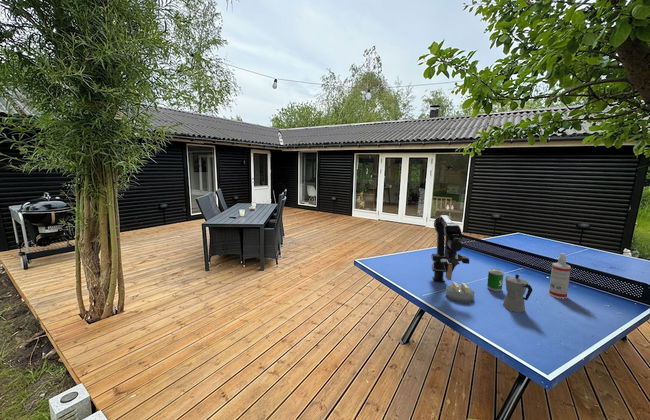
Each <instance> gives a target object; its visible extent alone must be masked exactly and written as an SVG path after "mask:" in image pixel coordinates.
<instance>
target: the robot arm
mask: <svg viewBox="0 0 650 420" xmlns="http://www.w3.org/2000/svg"><path fill="white" fill-rule="evenodd" d="M433 227H434V232H436V253H432V254H431V255H430V256H431V257H430V258H431V260H432V264H431V270H432V272H433V276H432V281H434V282H440V283H445V282H446V280H445V279H444V277H445V276H444V275H445V274H446V273H447V262H449V263H452V273H453V272H454V270H455V268H456V266H458V265H460V262H461V263H462V264H466V265H468V264H470V258H468V256H467V255H463V254H460V253H459V254H458V253H457V252H460V251H461V250H462V248H463V244H462V243H461V241H460V240H459V239H462V237H463V233H462V229H461V227H460V226H459V224H458V223H454V222H453V221H452V220H451V219H450V216H449V215H439V216H438V217H437V218H435V219H434V221H433Z"/></svg>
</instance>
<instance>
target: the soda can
mask: <svg viewBox="0 0 650 420" xmlns="http://www.w3.org/2000/svg"><path fill="white" fill-rule="evenodd" d="M504 275H505V274H504V272H503V271H502V270H501V269H499V268H490V269H489V270H488V274H487V283H486V284H487V285H486V286H487V288H488V289H489V290H491V291H493V292H501V291H502V290H503V284H504Z"/></svg>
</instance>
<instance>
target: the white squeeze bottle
mask: <svg viewBox="0 0 650 420" xmlns="http://www.w3.org/2000/svg"><path fill="white" fill-rule="evenodd" d="M566 255H567V254H566V253H563V252H562V253H561V252H560V254H559V257H558V259H557V262H552V266H551V274H550V281H549V289H548V295H549V296H550V297H553V298H557V299H561V298H562V300H565V299H564V298H566V299H567V298H568V291H569V290H568V289H569V284H570V277H571V269H572V268H571V265H569V264H567V259H566V258H567V257H566Z"/></svg>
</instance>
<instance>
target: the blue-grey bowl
mask: <svg viewBox="0 0 650 420" xmlns="http://www.w3.org/2000/svg"><path fill="white" fill-rule="evenodd" d="M460 284H461V285H460ZM460 284H458V283H457V282H456V281H452V284H449V285H447V286H446V289H445V296H446V295H447V296H446V297H447V298H448V297H449V299H450V300H452V301H454V302H459V303H472V302H474V300H475V291H474V290H473V289H472V288H470V287H469V286H468V285H467V284H466V283H465V282H461V283H460Z"/></svg>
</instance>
